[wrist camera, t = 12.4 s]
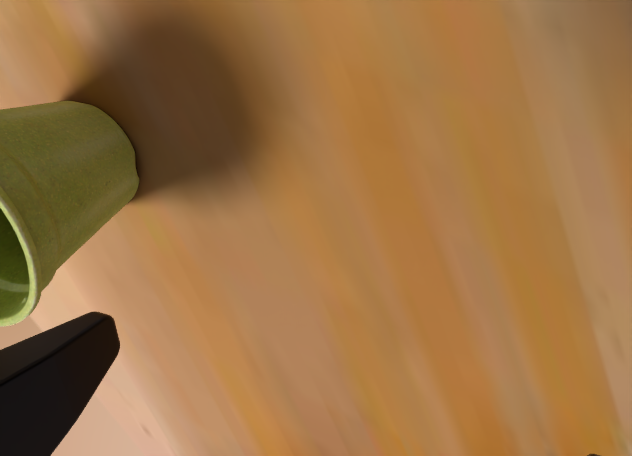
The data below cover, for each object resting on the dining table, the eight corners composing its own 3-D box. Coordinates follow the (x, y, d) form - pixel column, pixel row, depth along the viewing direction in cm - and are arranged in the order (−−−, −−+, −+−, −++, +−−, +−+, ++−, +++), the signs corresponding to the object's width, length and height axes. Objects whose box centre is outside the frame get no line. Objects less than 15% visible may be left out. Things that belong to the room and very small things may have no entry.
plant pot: (-1, 140, 27) (-180, 206, 19) (59, 21, 21) (-154, 51, 14) (117, 255, 28) (-7, 355, 21) (200, 170, 23) (72, 263, 16)
